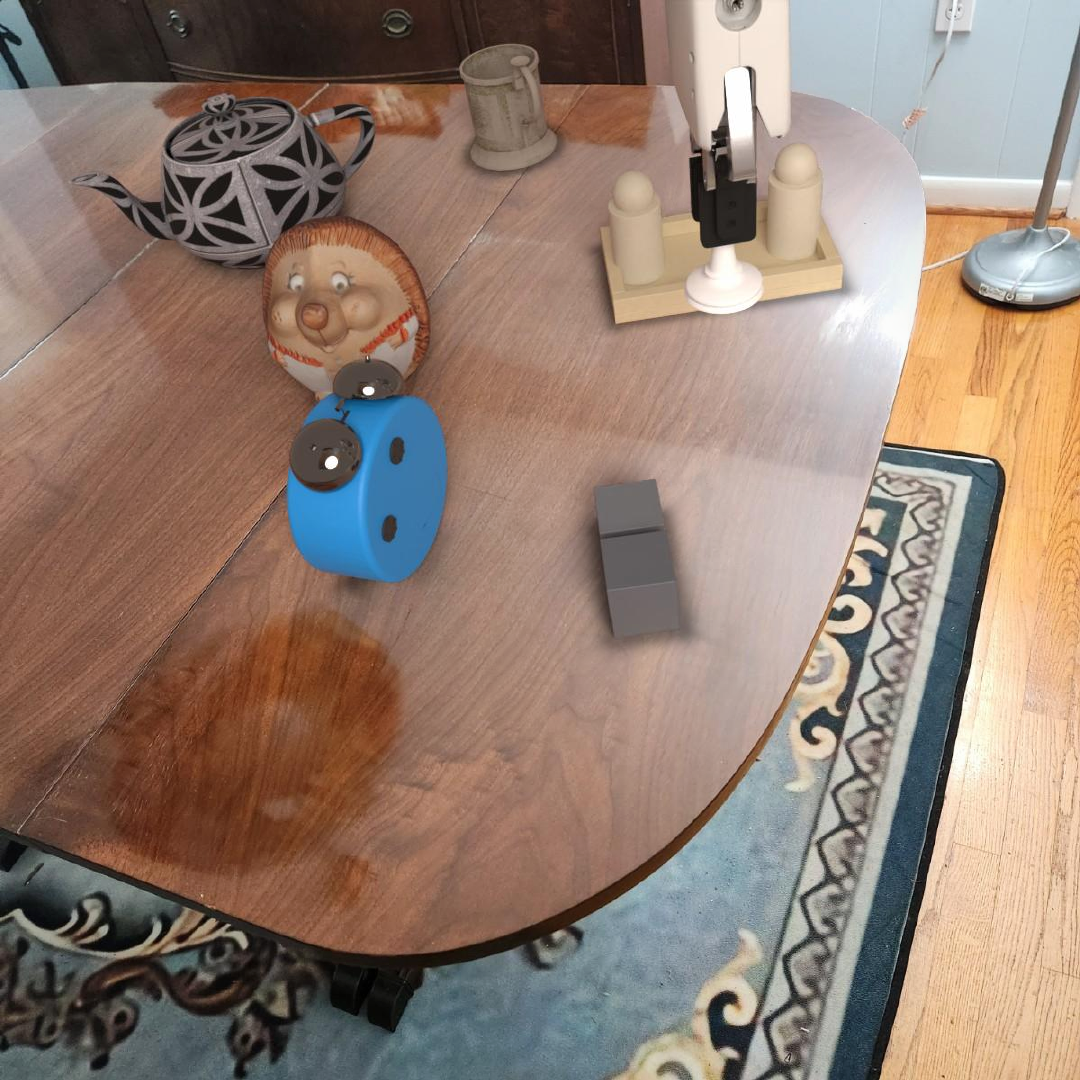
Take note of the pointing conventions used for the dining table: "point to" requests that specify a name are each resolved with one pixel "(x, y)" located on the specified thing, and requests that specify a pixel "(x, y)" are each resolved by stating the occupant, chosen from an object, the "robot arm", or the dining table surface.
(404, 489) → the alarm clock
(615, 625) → the slate blocks
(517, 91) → the mug
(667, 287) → the pawn tray
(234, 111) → the teapot
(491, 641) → the dining table surface
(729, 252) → the chess piece
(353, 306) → the figurine
